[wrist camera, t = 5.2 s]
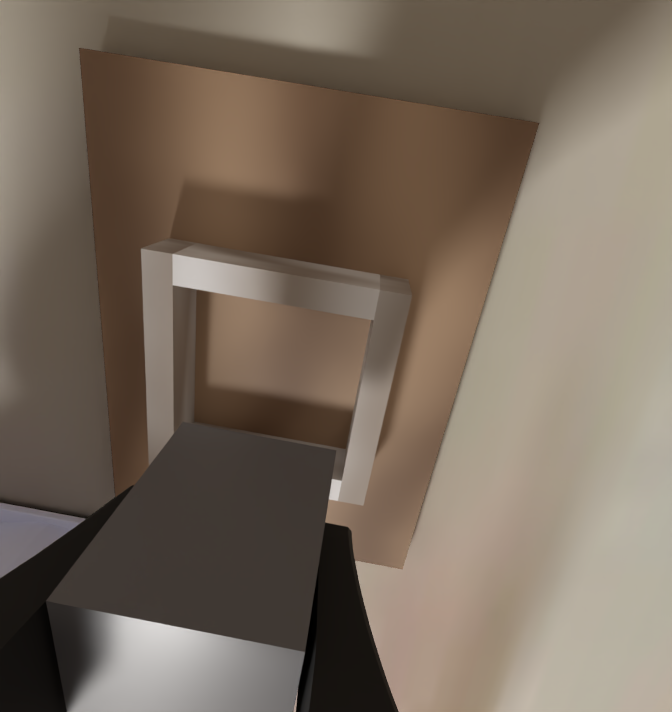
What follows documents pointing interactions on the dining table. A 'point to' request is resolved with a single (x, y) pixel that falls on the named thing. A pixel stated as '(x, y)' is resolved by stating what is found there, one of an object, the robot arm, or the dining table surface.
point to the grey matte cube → (198, 581)
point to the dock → (292, 270)
